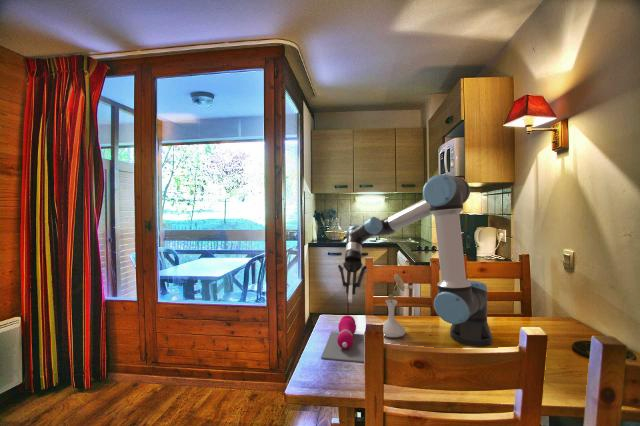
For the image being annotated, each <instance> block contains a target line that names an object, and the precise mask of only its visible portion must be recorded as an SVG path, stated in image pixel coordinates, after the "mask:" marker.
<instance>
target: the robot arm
mask: <svg viewBox="0 0 640 426" xmlns="http://www.w3.org/2000/svg"><path fill="white" fill-rule="evenodd" d="M470 195H471V187H470V184H469V183H468V182H467V181H466V180H465V179H464V178H462V177H460V176H453V175H449V174H436V175H433V176H431V177H430V178H428V179H427V180H426V182H425V184H424V186H423V188H422V196H423V199H421V200H418V201H417V202H415V203H413V204H411V205H409V206H408V207H406V208H404V209H401V210H399V211H397V212H396V213H393V214H391V215H389V216H388V217H386V218H384V219H379V218H378V217H377V216H371V217H370V218H368V219H365V221H363V222H362V223H361V224H360V225H355V224H354V225H350V226H349V227H348V229H347V233H346V241H345V252H344V253H345V254H344V262H343V263H342V264H338V266H337V267H338V272H340V277H341V281H342V282H341V283H342V287H344V288H345V293H346V295H347V302H348V303H351V304H352V303H353V296H354V295H356V290H357V288H360V287H361V285H362V281H363V278H364V276H365V273H366V272H367V269H368V267H367V266H366V265H363V263H362V253H363V251H362V250H363V242H365V241H367V240H368V239H371V238H372V237H381V236H390V235H392V234H395V233H396V232H397V231H398V230H400V229H402V228H405V227H408V226H409V225H412V224H413V223H416V222H418V221H421V220H423V219H425V218H427V217H429V216H433V217H434V223H435V232H436V233H435V235H436V242H437V254H438V263H439V271H440V274H439V275H440V281H438V282H437V284H436V286H437V295H436V296H435V298H434V299H433V308H434V311H435V313H436V314H437V316H438V317H440V319H442V320H443V321H444V322H446V323H448V324H451V326H450V328H449V336H450V338H451V339H452V340H454V341H455V342H457V343H460V344H463V345H465V346H471V347H488V346H490V345H492V344H493V334H492V332H491V329H490V326H489V323H488V286H487V284H486V283H484V282H481V281H476V280H470V279H467V275H466V266H465V257H464V247H463V245H464V244H463V238H462V237H463V236H462V228H461V219H460V218H461V217H460V214H461V213H462V211H463V210H464V205H463V204H464V203H466V202H467V201H468V199H469V198H470ZM344 270H346V272H347V276H346V280H345V274H344ZM359 271H360V273H359V274H357V272H359ZM352 273H353V274H352ZM351 275H352V276H353V277H352V276H351ZM357 275H359V276H358V277H357ZM351 277H352V284H351Z"/></svg>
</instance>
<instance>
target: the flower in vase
mask: <svg viewBox="0 0 640 426" xmlns="http://www.w3.org/2000/svg"><path fill="white" fill-rule="evenodd" d="M393 277H394V281H395V285H394V287H393V290H392V294H391V293H390V294H389V295H388V296H387V297H388V298H390V299H385V300H384V301H385V303H386V305H387V309H388V317H387V319H386V320H385V321H384V322H382V323H381V324H383V325H384V334H385V336H384V337H387V338H401V337H403V336H405V334H406V333H407V332H406V329H405V328H404V326H403V325H401V324H400V323H399V322H398V321H397V320H396V317H395V309H396V308H395V307H396V305H397V304H398V300H396V299H393V298H394V297H399V292H398V291H397V290H395V289H396V287H398V289H399V291H402V292H405V291H406V286H405V282H404V281H403V278H402V277H401V276H400V275H399V273H395V274H394V276H393Z"/></svg>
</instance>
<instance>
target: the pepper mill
mask: <svg viewBox="0 0 640 426" xmlns="http://www.w3.org/2000/svg"><path fill="white" fill-rule="evenodd" d="M337 326H338V331H339V332H338V333H340V334H339V335H338V338H337V342H338V345H339V346H340V347H341V348H342V349H349V348H350V347H351V346H352V345H353V341H354V340H353V334H356V333H355V332H356V330H357V325H356V320H355V318H354V317H353V316H351V315H347V314H346V315H344V316H342V317H341V319H340V321H339V322H338V325H337Z"/></svg>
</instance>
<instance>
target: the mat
mask: <svg viewBox="0 0 640 426" xmlns="http://www.w3.org/2000/svg"><path fill="white" fill-rule="evenodd" d="M339 334H340V332H337V331H335V332H334V331H333V332H332V331H331V332H330V334H329V337H328V339H327V342H326V344H325V346H324V349H323V352H322V355H321V357H320V358H321V360H332V361H340V362H341V361H342V362H354V363H364V335H365V334H363V333H362V334H361V333H354V334H353V340H354V341H353V345H352V346H351V347H350V348H349V349H342V348H341V347H340V346H339V345H338V342H337V338H338V335H339ZM364 364H365V363H364Z"/></svg>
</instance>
